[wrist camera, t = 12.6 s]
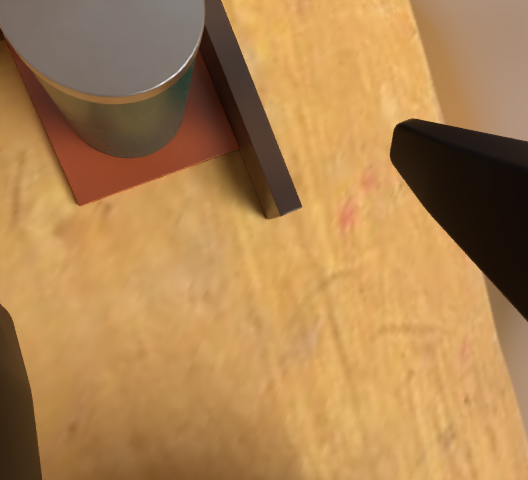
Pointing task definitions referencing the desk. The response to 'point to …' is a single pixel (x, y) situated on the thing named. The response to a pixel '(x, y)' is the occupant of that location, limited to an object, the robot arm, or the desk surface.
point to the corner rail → (183, 128)
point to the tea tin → (111, 65)
